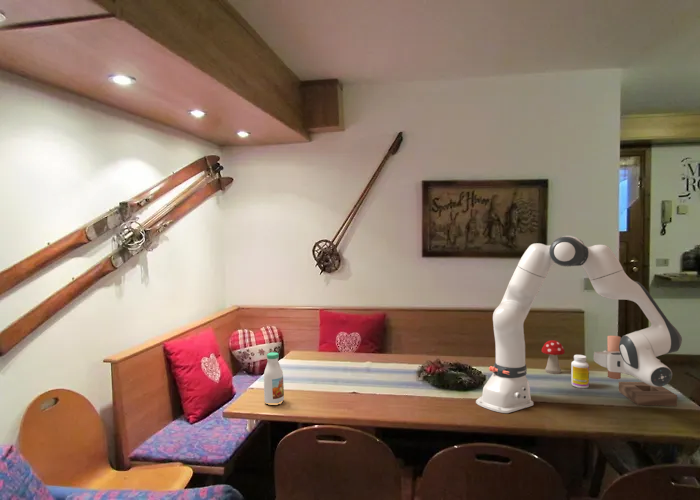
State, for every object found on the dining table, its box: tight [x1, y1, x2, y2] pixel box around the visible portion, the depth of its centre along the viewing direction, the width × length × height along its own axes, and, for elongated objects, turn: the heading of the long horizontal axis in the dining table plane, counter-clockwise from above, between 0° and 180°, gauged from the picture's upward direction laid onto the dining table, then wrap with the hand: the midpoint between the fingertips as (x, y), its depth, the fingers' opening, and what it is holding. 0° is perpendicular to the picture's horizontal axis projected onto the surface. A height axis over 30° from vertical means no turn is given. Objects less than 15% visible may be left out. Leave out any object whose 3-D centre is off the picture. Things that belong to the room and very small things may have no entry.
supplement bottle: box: [570, 354, 590, 389], centre depth 187 cm, size 7×7×13 cm
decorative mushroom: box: [541, 339, 566, 375], centre depth 205 cm, size 10×9×15 cm
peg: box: [607, 335, 622, 380], centre depth 172 cm, size 4×4×16 cm
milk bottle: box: [263, 351, 285, 403], centre depth 177 cm, size 8×8×20 cm
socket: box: [618, 381, 678, 407], centre depth 173 cm, size 14×14×4 cm
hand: (612, 352), depth 173 cm, fingers closed on peg, 4 cm apart
